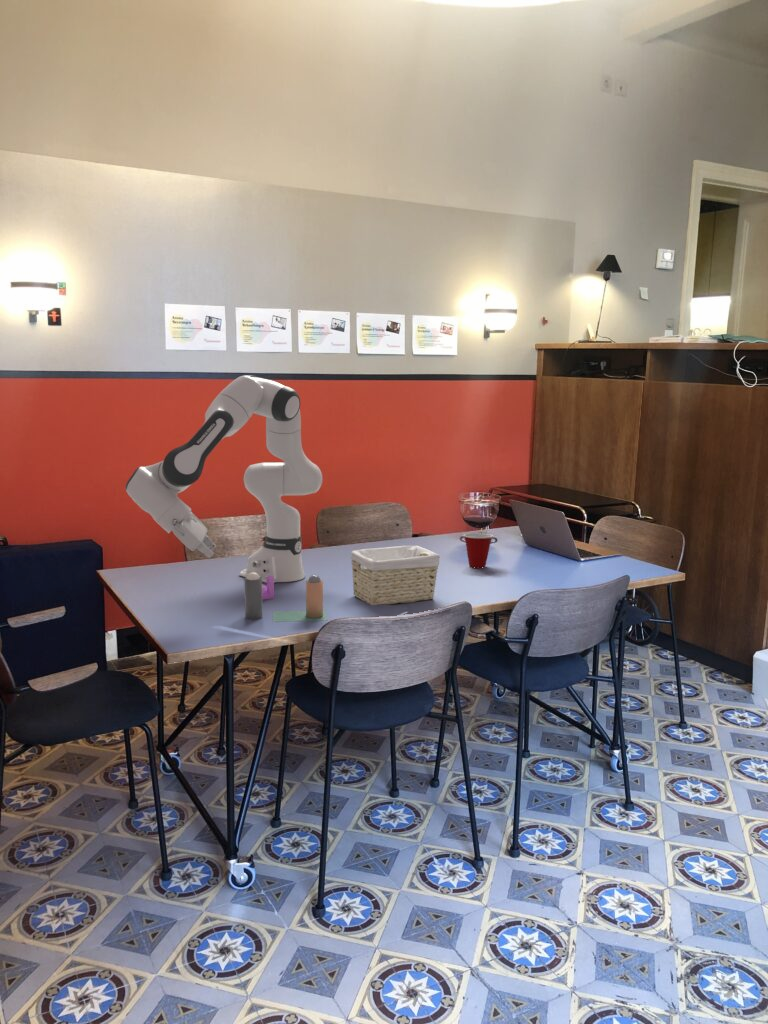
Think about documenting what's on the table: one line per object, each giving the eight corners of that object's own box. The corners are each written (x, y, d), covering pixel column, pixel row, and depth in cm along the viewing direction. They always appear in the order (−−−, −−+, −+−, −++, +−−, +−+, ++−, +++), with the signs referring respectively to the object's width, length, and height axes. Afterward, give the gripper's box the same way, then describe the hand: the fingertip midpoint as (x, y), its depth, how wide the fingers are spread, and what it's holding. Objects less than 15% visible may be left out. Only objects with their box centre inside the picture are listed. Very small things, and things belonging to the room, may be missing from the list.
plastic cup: (489, 562, 290) (490, 531, 288) (494, 570, 279) (495, 537, 277) (460, 562, 289) (461, 530, 287) (464, 570, 279) (465, 537, 277)
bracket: (274, 598, 241) (273, 576, 240) (256, 600, 239) (255, 578, 238) (264, 587, 253) (264, 566, 252) (247, 589, 251) (247, 568, 250)
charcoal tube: (241, 620, 220) (240, 572, 217) (252, 616, 224) (251, 569, 221) (255, 623, 217) (254, 575, 215) (265, 618, 222) (265, 571, 219)
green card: (273, 624, 217) (273, 621, 217) (273, 614, 226) (273, 611, 226) (327, 623, 219) (327, 620, 219) (325, 613, 228) (325, 610, 227)
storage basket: (415, 587, 256) (416, 543, 254) (440, 600, 242) (442, 554, 239) (348, 595, 246) (348, 549, 243) (370, 610, 232) (371, 561, 229)
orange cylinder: (302, 616, 222) (302, 575, 220) (311, 612, 226) (312, 572, 224) (317, 619, 219) (317, 578, 217) (326, 614, 224) (326, 574, 222)
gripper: (179, 515, 203) (218, 551, 205) (187, 504, 223) (223, 537, 225) (162, 532, 203) (201, 568, 205) (172, 519, 223) (208, 553, 225)
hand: (213, 552), depth 216 cm, fingers open, 8 cm apart
